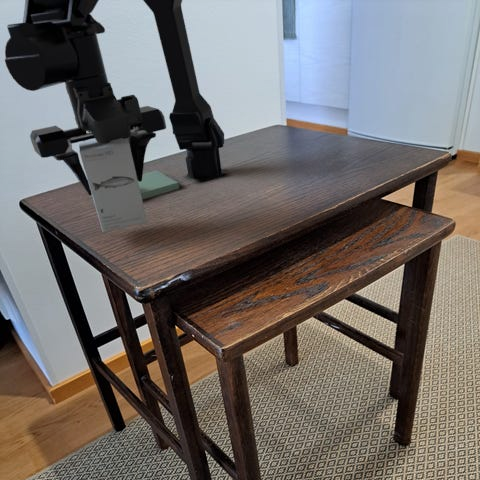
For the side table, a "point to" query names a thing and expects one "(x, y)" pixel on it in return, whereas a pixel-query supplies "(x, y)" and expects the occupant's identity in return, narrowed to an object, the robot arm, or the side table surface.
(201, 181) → the robot arm
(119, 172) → the white packaging box
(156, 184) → the scale
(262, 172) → the side table surface
